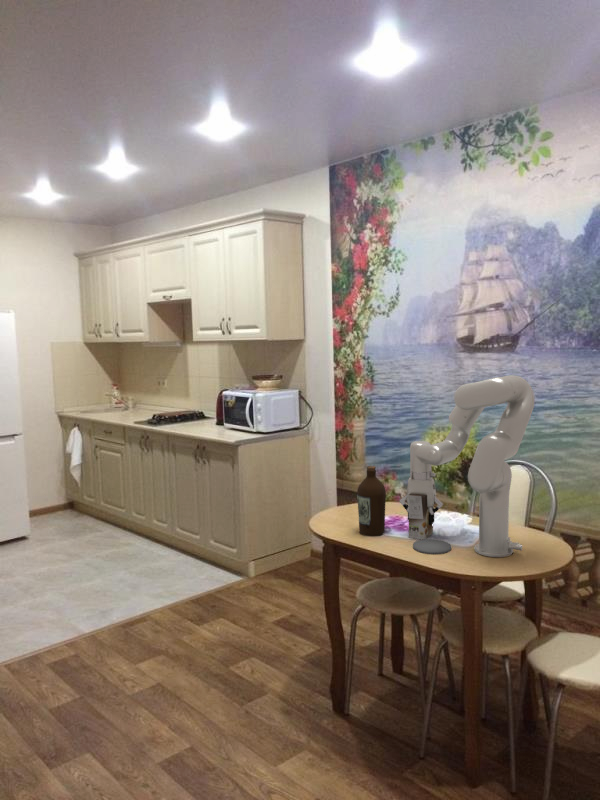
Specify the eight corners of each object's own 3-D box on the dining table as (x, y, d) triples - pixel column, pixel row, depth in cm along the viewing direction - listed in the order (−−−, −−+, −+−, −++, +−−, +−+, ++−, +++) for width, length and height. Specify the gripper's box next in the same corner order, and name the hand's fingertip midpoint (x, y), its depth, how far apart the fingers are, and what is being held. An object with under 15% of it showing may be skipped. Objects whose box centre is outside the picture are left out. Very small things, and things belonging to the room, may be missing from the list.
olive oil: (373, 526, 252) (372, 462, 249) (392, 533, 243) (391, 467, 241) (351, 531, 246) (350, 466, 243) (370, 538, 237) (369, 471, 235)
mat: (454, 544, 229) (454, 541, 229) (446, 556, 217) (446, 553, 217) (418, 540, 235) (418, 537, 234) (408, 551, 223) (408, 548, 223)
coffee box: (425, 540, 234) (424, 496, 232) (408, 537, 237) (407, 494, 236) (433, 533, 242) (433, 490, 240) (417, 530, 245) (417, 488, 243)
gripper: (447, 474, 237) (447, 522, 239) (400, 471, 244) (400, 518, 246) (442, 479, 230) (442, 528, 232) (394, 475, 238) (395, 523, 239)
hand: (421, 522), depth 239 cm, fingers closed on coffee box, 6 cm apart
